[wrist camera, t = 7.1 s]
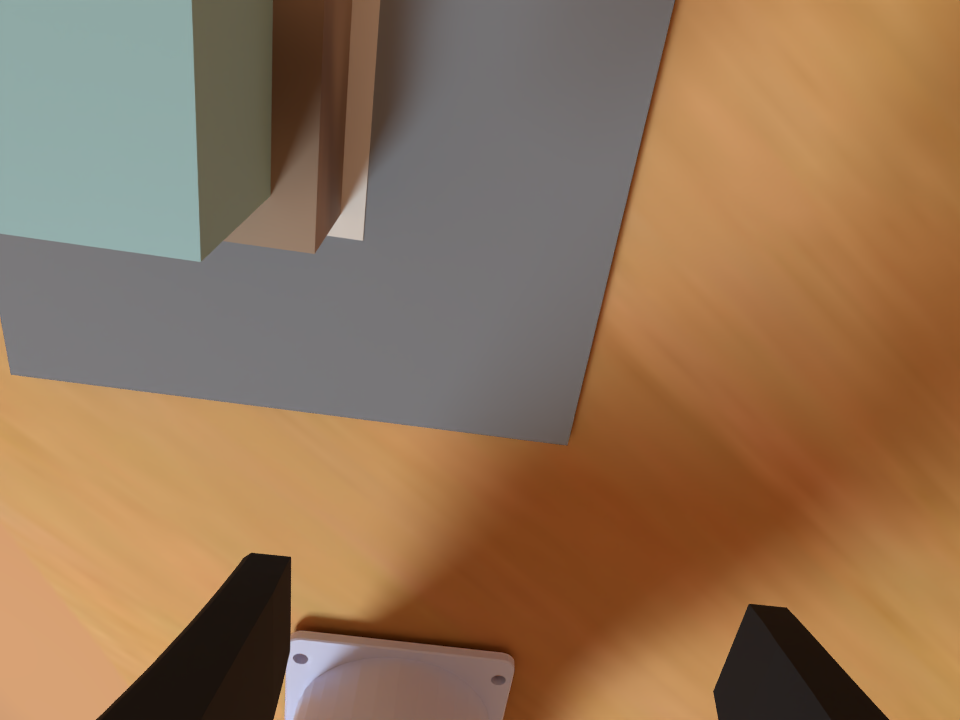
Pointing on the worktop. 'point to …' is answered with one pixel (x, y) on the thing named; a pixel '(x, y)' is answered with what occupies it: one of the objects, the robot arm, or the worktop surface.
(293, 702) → the robot arm
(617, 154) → the build mat
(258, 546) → the worktop surface
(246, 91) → the teal cube
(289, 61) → the walnut base block
